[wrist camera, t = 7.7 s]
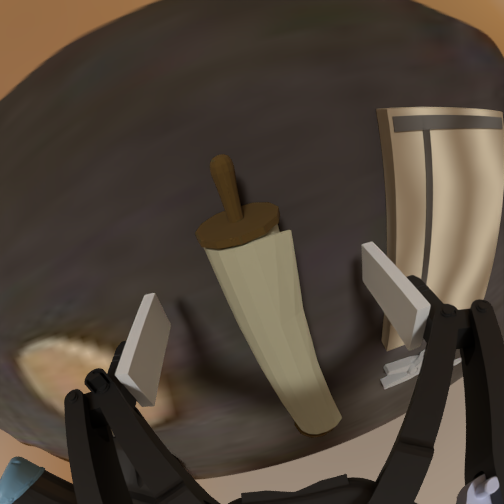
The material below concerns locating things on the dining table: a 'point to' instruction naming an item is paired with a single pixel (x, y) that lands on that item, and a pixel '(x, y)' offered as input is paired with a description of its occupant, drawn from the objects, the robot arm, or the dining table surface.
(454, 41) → the dining table surface
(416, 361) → the pliers
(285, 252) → the rolling pin
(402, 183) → the marking board
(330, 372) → the dining table surface
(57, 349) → the dining table surface
